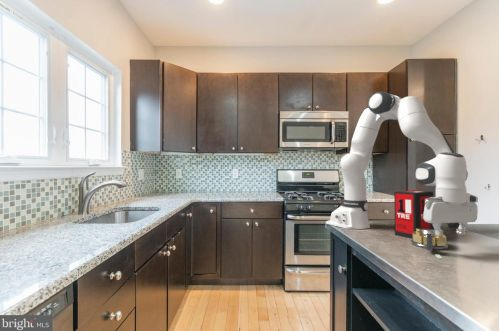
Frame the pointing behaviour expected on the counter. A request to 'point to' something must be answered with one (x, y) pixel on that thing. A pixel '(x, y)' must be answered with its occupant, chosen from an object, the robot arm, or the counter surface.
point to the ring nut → (429, 239)
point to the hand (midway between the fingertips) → (449, 234)
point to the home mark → (438, 256)
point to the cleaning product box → (410, 212)
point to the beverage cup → (453, 227)
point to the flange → (430, 231)
